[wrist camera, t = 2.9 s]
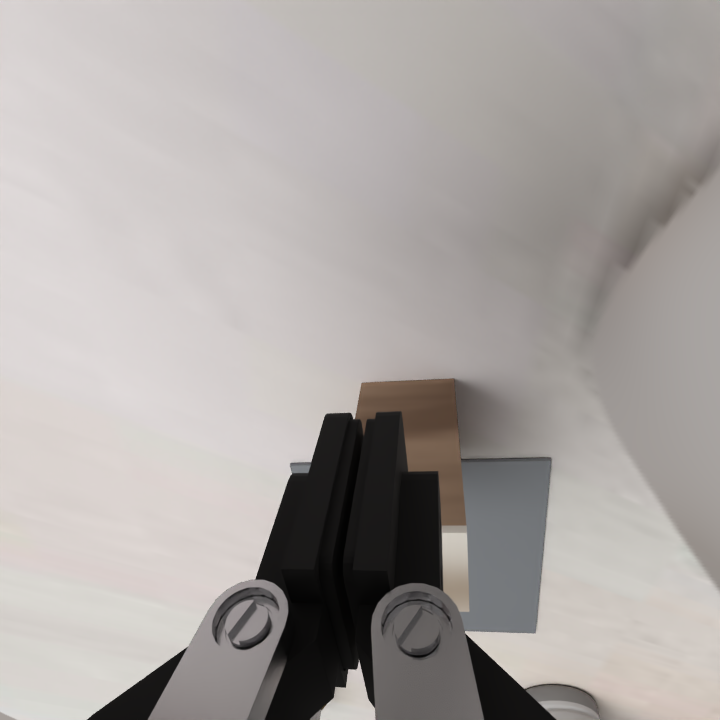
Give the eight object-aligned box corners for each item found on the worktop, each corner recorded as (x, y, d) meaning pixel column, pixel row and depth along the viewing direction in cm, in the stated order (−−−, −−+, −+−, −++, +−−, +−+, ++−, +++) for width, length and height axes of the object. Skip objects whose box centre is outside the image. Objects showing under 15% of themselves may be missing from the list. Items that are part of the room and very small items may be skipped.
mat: (290, 463, 28) (290, 465, 28) (550, 457, 26) (551, 460, 26) (335, 623, 37) (335, 626, 37) (534, 630, 34) (535, 633, 34)
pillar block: (361, 383, 25) (334, 532, 17) (454, 378, 24) (467, 532, 17) (372, 450, 27) (352, 608, 20) (456, 448, 26) (469, 611, 19)
